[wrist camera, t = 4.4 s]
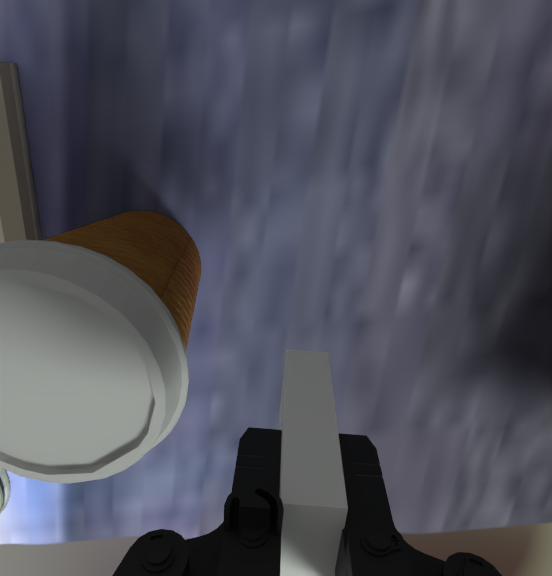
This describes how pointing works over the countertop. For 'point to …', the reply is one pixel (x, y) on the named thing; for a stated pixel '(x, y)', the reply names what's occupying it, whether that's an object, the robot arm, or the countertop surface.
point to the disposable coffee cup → (94, 345)
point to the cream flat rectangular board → (15, 164)
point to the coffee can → (4, 489)
